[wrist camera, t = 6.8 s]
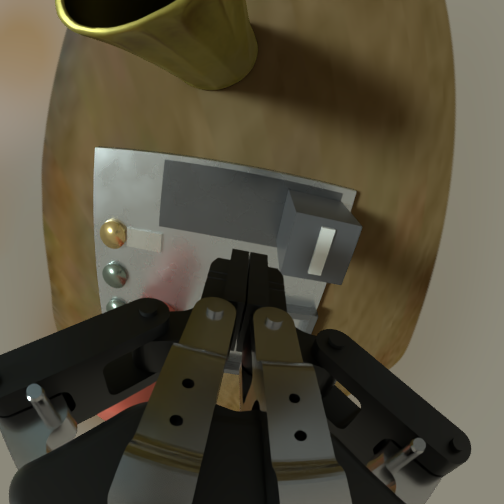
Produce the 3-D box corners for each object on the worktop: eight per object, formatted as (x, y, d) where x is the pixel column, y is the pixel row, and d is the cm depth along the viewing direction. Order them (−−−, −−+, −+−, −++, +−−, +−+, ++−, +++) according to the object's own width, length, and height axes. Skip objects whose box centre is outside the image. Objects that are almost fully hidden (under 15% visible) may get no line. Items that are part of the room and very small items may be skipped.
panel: (98, 146, 20) (87, 149, 18) (354, 189, 21) (361, 195, 19) (108, 336, 28) (102, 347, 27) (288, 371, 30) (289, 384, 28)
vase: (275, 57, 17) (303, -44, 4) (204, 107, 18) (99, 99, 6) (223, 0, 15) (171, -124, 2) (155, 50, 16) (19, -6, 4)
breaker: (288, 189, 20) (296, 213, 16) (341, 201, 20) (363, 228, 16) (276, 240, 22) (279, 276, 17) (326, 249, 22) (341, 286, 18)
